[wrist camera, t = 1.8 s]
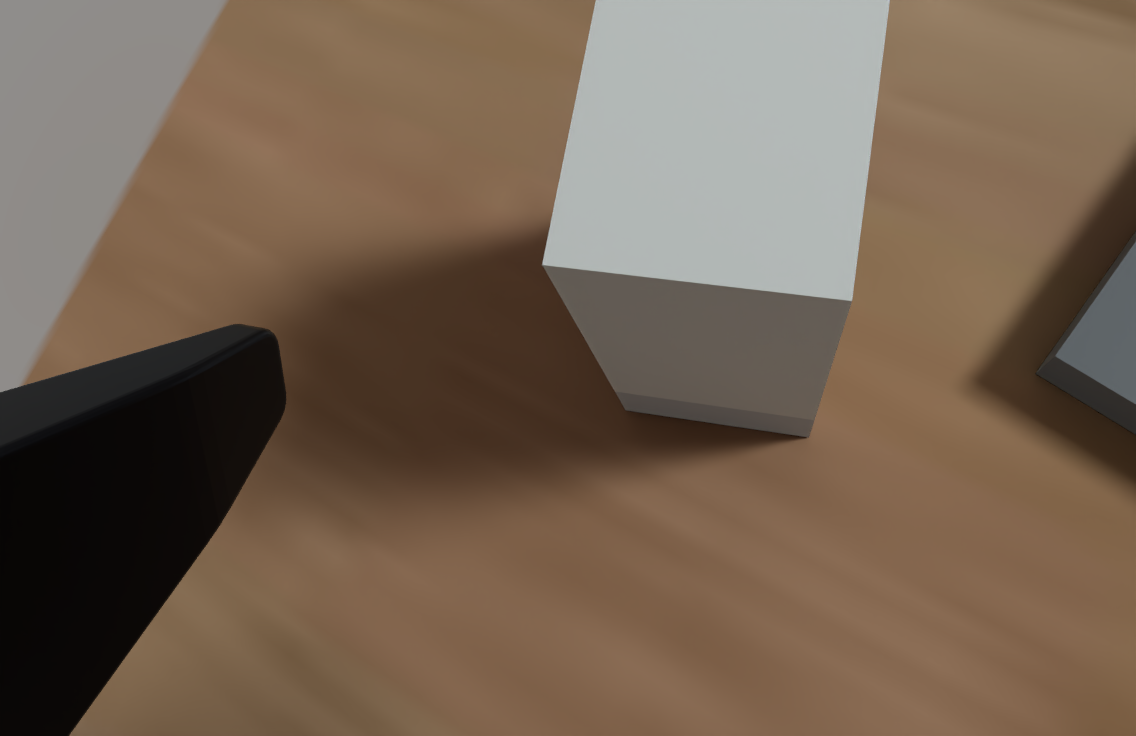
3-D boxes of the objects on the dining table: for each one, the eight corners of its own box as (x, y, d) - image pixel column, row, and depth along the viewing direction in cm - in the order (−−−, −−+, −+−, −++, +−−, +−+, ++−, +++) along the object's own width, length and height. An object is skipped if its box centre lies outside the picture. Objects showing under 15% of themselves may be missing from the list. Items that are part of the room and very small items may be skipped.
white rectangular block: (809, 437, 23) (852, 300, 13) (625, 410, 24) (542, 264, 14) (837, 221, 24) (895, -47, 14) (661, 204, 25) (607, -58, 15)
